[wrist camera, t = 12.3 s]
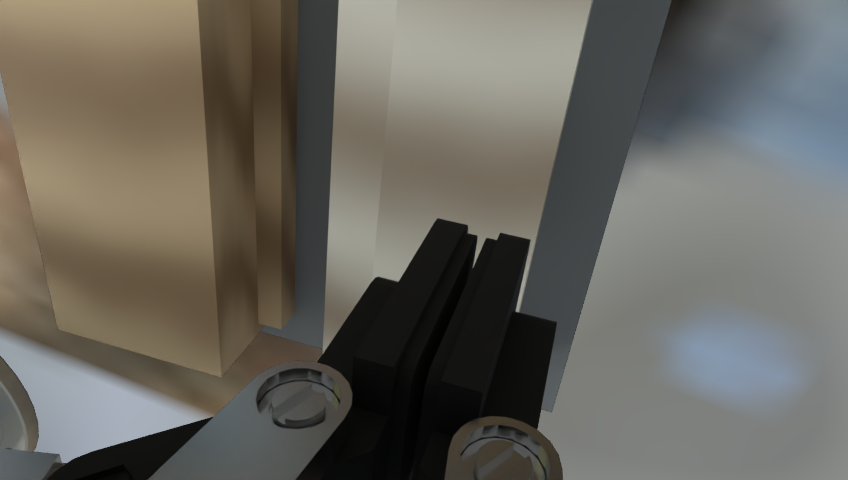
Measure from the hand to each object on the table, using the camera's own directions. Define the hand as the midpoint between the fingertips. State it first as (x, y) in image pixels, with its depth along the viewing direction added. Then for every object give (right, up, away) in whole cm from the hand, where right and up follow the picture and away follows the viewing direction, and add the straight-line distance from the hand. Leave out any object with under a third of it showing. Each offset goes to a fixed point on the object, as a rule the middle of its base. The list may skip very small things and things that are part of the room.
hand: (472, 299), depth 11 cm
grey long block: (0, +5, +9) cm, 10 cm away
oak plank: (-9, +7, +11) cm, 16 cm away
